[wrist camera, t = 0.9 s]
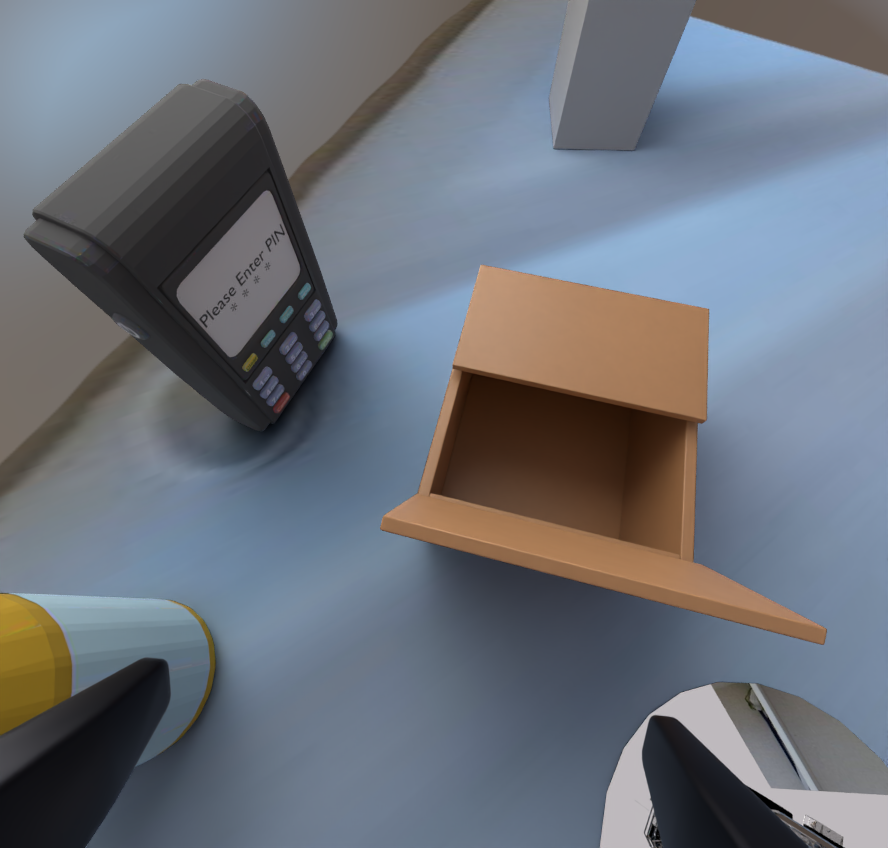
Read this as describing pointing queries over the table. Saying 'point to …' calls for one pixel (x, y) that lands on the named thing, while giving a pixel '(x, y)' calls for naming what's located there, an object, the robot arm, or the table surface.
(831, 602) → the table surface
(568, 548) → the lid flap
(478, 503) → the carton
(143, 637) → the bottle
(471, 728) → the table surface
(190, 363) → the card reader
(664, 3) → the perfume bottle
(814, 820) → the toy car
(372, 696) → the table surface
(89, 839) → the robot arm
